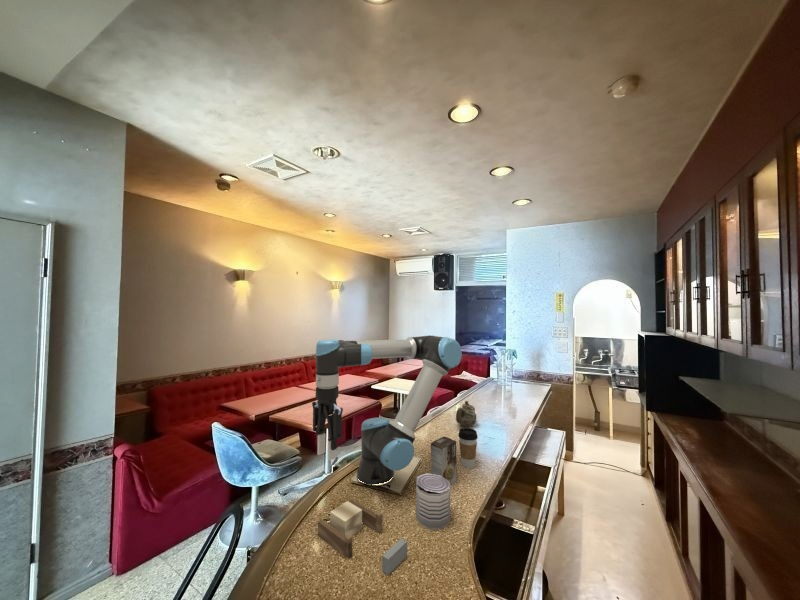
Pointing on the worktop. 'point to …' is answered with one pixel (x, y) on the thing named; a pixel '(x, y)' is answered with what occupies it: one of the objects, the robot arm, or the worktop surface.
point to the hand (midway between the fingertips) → (326, 456)
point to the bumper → (394, 556)
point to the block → (346, 518)
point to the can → (432, 501)
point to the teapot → (466, 415)
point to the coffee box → (444, 459)
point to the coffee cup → (468, 446)
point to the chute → (345, 542)
